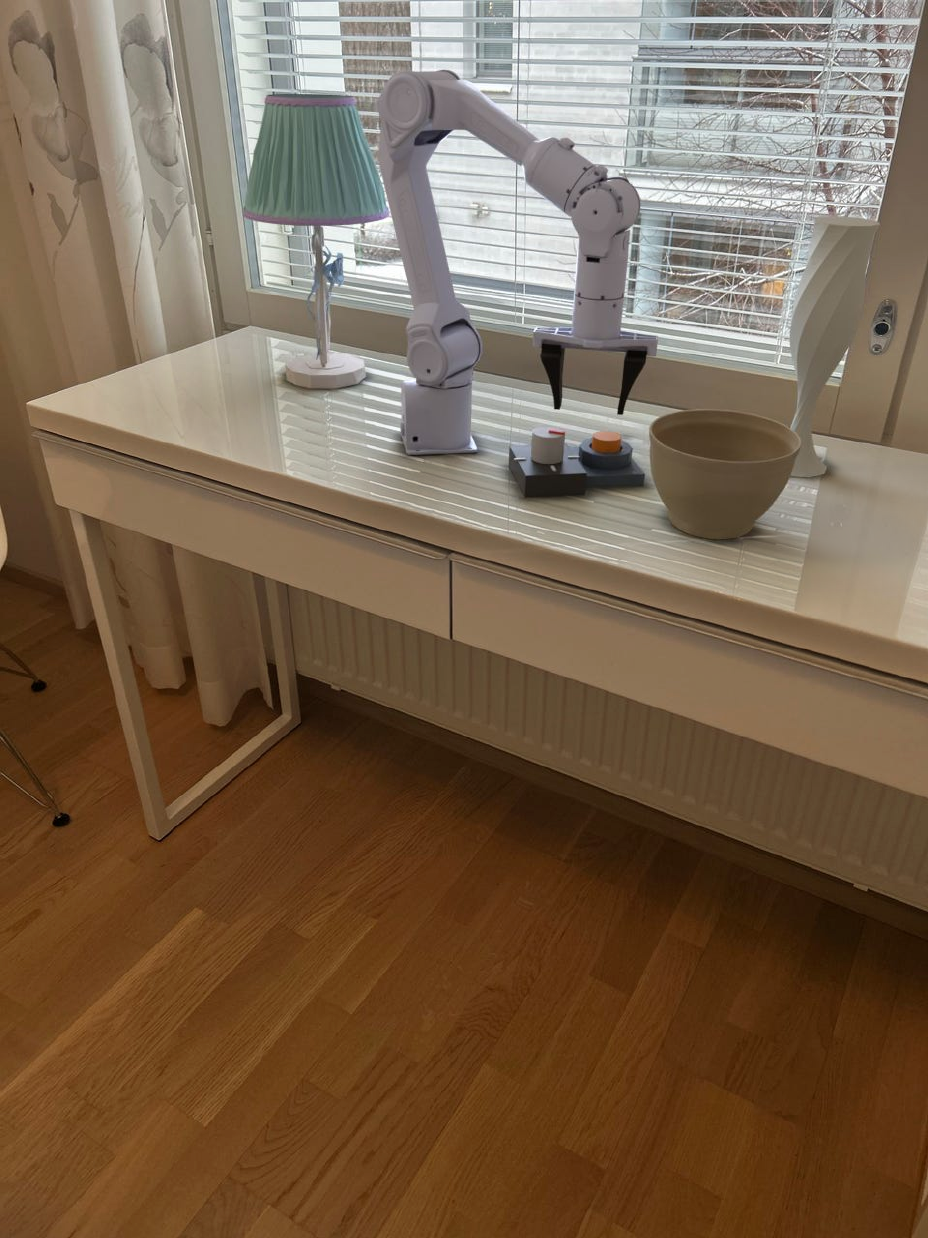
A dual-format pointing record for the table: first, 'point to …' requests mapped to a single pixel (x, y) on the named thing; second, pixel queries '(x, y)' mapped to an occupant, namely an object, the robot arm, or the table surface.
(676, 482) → the planter bowl
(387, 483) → the table surface
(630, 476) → the button base
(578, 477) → the dial panel
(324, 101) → the table lamp
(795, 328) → the vase
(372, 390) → the table surface
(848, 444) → the table surface
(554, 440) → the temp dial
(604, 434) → the button
